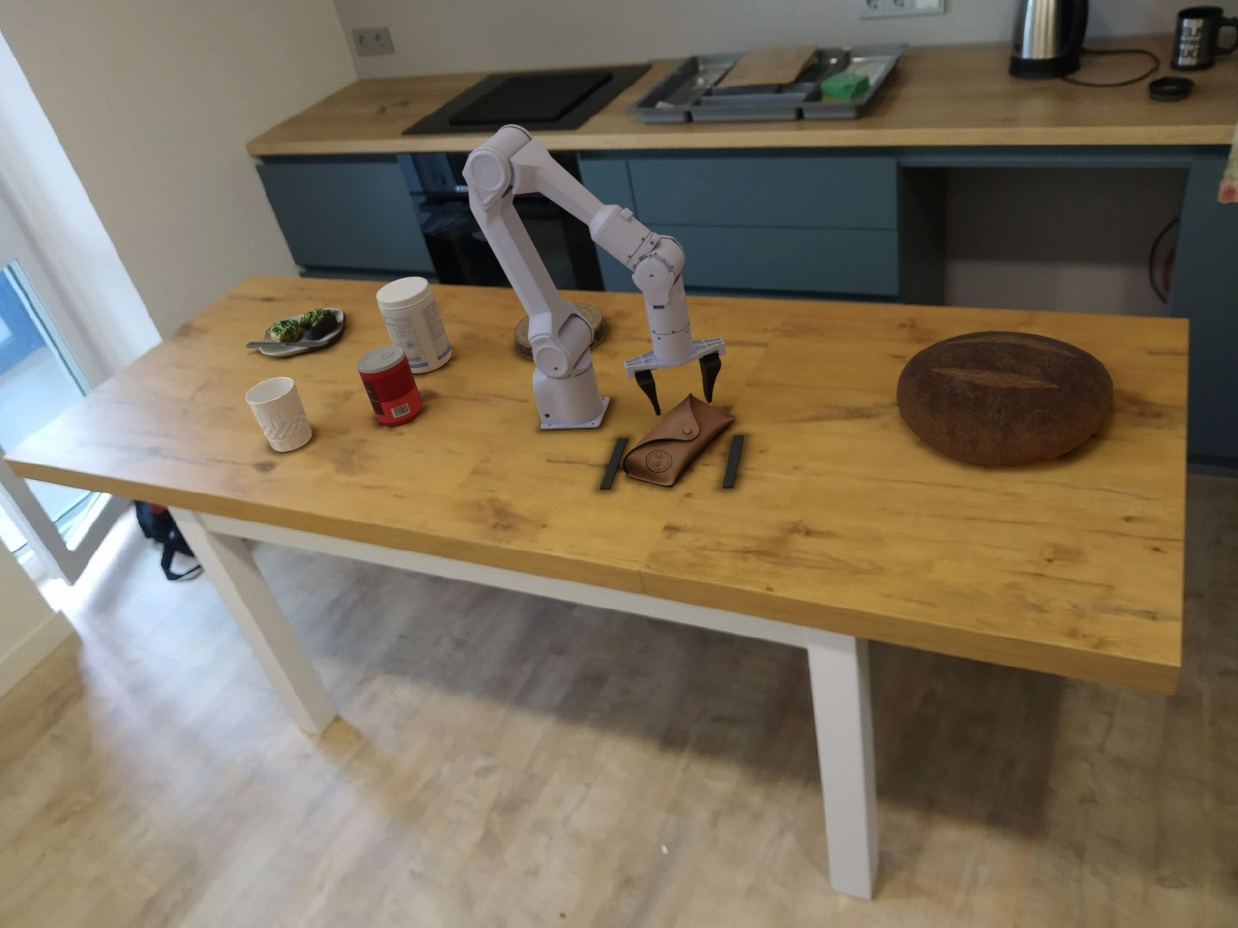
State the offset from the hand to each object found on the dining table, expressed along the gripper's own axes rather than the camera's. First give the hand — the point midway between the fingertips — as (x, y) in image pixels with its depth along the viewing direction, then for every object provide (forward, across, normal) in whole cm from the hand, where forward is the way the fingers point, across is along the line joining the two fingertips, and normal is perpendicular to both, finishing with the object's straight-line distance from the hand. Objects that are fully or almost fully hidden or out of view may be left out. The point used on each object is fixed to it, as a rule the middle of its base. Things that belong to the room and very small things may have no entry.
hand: (683, 406), depth 146 cm
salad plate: (+2, +63, -62) cm, 89 cm away
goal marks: (+2, +4, +10) cm, 11 cm away
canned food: (+3, +44, -23) cm, 49 cm away
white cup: (+3, +62, -23) cm, 66 cm away
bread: (+3, -41, +17) cm, 44 cm away
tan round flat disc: (+3, +14, -36) cm, 38 cm away
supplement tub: (+3, +39, -39) cm, 55 cm away
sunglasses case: (+3, +2, +7) cm, 8 cm away
